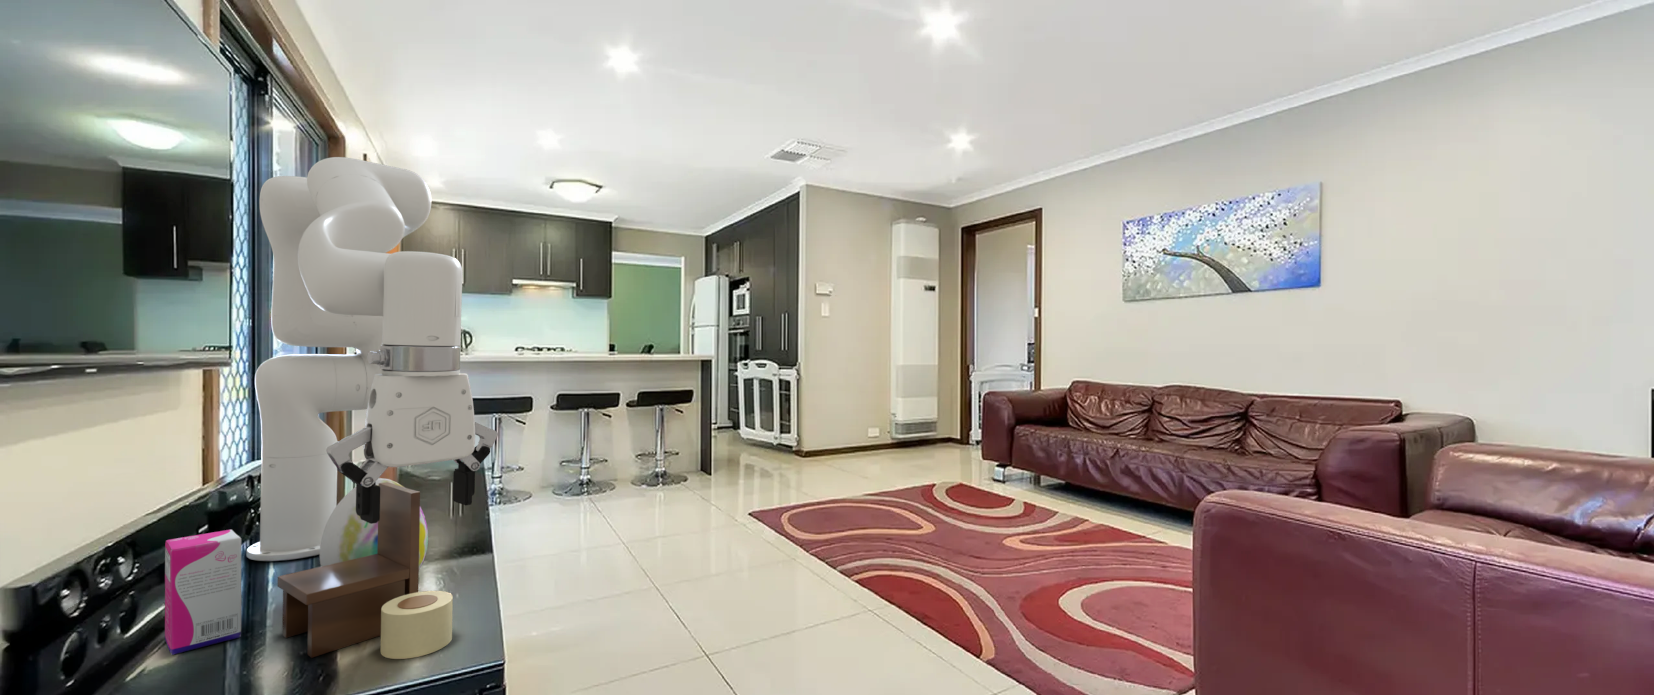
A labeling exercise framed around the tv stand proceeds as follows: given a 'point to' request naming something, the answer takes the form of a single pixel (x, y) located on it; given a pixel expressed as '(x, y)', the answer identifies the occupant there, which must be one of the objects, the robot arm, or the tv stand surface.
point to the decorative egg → (357, 533)
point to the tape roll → (416, 624)
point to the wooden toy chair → (357, 581)
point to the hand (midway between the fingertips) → (418, 511)
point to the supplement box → (202, 590)
